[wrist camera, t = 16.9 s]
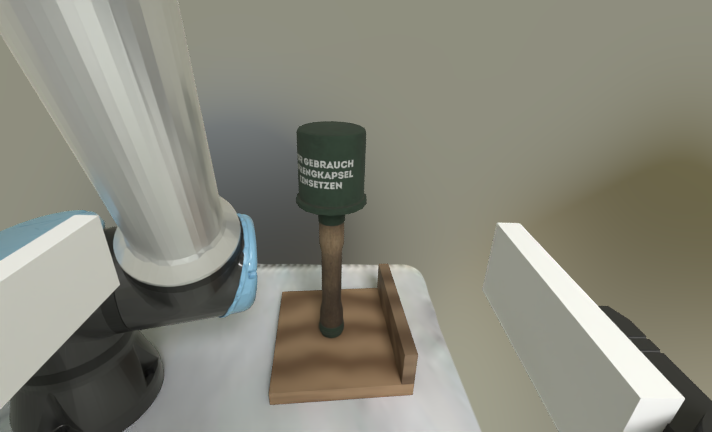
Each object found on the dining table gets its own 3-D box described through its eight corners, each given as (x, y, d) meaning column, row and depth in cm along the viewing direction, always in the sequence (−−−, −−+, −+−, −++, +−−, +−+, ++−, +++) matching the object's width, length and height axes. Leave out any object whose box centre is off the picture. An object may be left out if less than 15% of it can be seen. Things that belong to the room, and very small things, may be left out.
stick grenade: (290, 333, 53) (276, 127, 40) (330, 304, 59) (329, 117, 46) (333, 364, 48) (334, 140, 35) (371, 329, 54) (384, 127, 41)
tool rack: (412, 394, 46) (418, 354, 43) (270, 404, 45) (265, 363, 42) (385, 296, 64) (388, 263, 61) (283, 301, 63) (280, 267, 60)
